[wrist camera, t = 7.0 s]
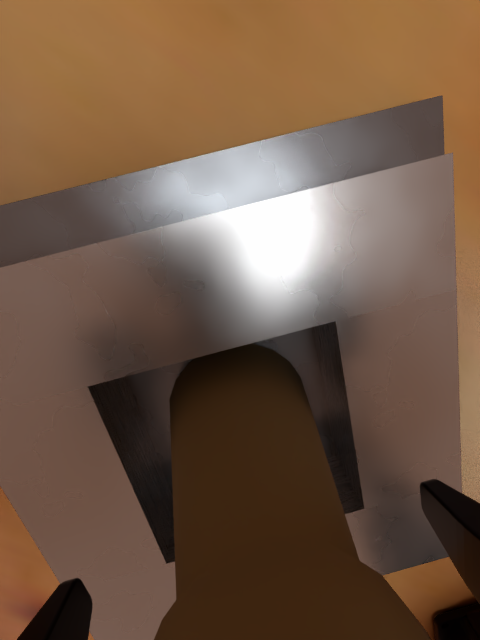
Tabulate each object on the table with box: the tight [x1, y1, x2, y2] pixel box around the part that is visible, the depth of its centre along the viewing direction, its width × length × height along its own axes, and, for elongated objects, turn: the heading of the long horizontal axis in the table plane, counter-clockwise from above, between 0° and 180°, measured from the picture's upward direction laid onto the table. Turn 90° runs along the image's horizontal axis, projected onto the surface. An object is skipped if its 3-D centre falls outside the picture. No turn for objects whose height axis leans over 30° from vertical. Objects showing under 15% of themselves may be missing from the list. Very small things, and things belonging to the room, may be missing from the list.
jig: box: [0, 96, 462, 640], centre depth 13 cm, size 20×20×4 cm
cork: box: [154, 343, 431, 640], centre depth 9 cm, size 6×6×11 cm
